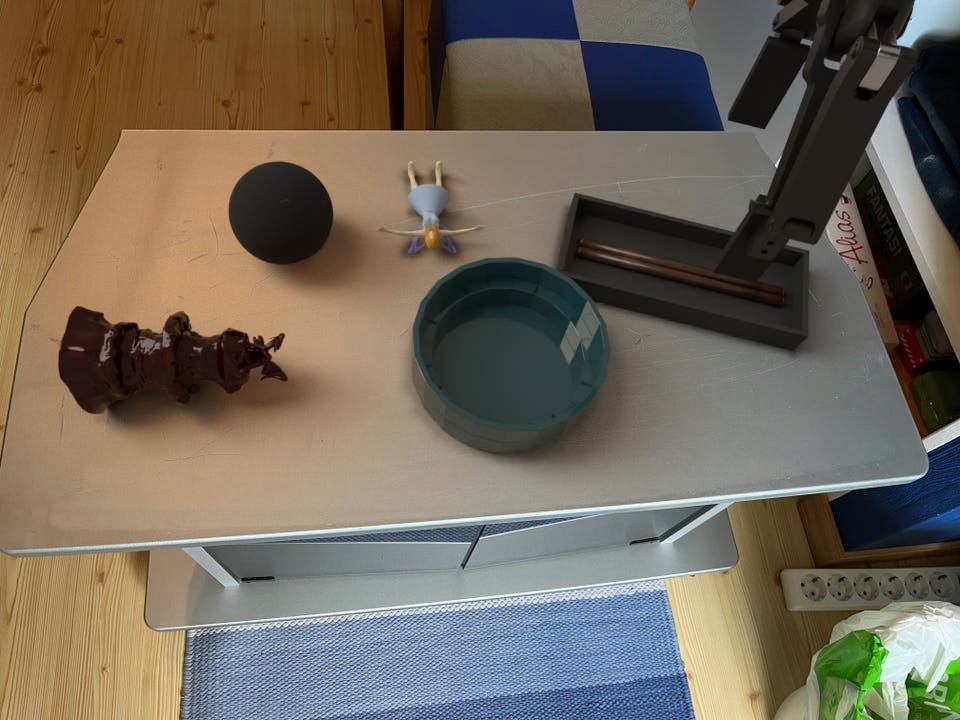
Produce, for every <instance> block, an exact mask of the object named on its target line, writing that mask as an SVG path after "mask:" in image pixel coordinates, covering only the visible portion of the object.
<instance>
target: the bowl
mask: <svg viewBox="0 0 960 720" xmlns="http://www.w3.org/2000/svg"><path fill="white" fill-rule="evenodd" d="M411 329H412V331H411V351H410V358H411V377H412V378H411V379H412V384H413V386H414V388H415V391H416V394H417V396H418V399H419V400H420V403H421V405H422V407H423V409H424V410H425V411H426V413H427V414H428V415H429V416H430V417H431V418H432V419H433V420H434V421H435V423H437V425H438V426H439V428H440V429H442V430H443V431H444V432H446V433H448V434H449V435H451V436H453V437H454V438H456V439H458V440H459V441H460V442H463V443H464V444H466V445H467V446H470V447H473V448H476V449H480V450H485V451H489V452H492V453H493V452H494V453H497V454H511V453H530V452H533V451H536V450H539V449H542V448H544V447H547V446H549V445H552V444H555V443H558V442H559V441H560V440H561V439H563V438H564V437H565V436H566V435H568V433H570V432H571V431H572V430H574V429H575V428H576V427H577V426H579V424H580V423H581V422H582V420H583V418H584V417H585V415H586V413H587V411H588V410H589V408H590V406H591V404H592V403H593V401H594V399H595V397H596V396H597V394H598V392H599V390H600V389H601V388H602V387H601V386H602V385H603V384H604V382H605V380H606V378H607V374H608V368H609V362H610V357H611V344H610V340H609V334H608V328H607V324H606V321H605V319H604V318H603V316H602V314H601V312H600V311H599V308H598V307H597V305H596V303H595V301H593V300H592V298H591V297H590V296H589V295H588V294H587V293H586V292H585V291H584V290H583V289H582V288H581V287H580V286H579V285H577V284H576V283H575V282H574V281H573V280H572V279H571V278H569V277H567V276H566V275H564V274H562V273H560V272H558V271H556V268H553V267H551V266H549V265H547V264H545V263H542V262H541V263H540V262H537V261H533V260H529V259H525V258H521V257H517V256H513V257H485V258H482V259H479V260H474V261H472V262H469V263H465V264H461V265H459V266H457V267H456V268H455V269H453V270H452V271H450V272H449V273H446V275H444V276H442V277H440V278H439V279H438V280H437V281H436V282H435V283H434V284H433V285H432V287H431V288H430V290H428V292H427V293H426V295H424V297H423V298H422V299H421V301H420V303H419V306H418V310H417V312H416V315H415V318H414V321H413V325H412V327H411Z"/></svg>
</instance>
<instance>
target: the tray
mask: <svg viewBox="0 0 960 720" xmlns="http://www.w3.org/2000/svg"><path fill="white" fill-rule="evenodd" d="M734 232H735V231H733V230H728V229H724V228H720V227H716V226H712V225H708V224H704V223H701V222H696V221H691V220H688V219H684V218H680V217H675V216H673V215H672V216H671V215H668V214H664V213H660V212H656V211H651V210H648V209H643V208H641V207H635V206H632V205H627V204H624V203H621V202H620V203H619V202H615V201H611V200H607V199H603V198H599V197H596V196H591V195H587V194H583V193H578V192H574V193H573V197H572V199H571V204H570V206H569V209H568V212H567V217H566V222H565V226H564V231H563V236H562V240H561V244H560V249H559V253H558V258H557V262H556V267H555V270H556V271H558V272H560V273H562V274H564V275H566V276H567V277H569V278H571V279H572V280H573V281H574V282H575V283H576V284H577V285H579V286H580V287H581V288H582V289H583V290H584V291H585V292H586V293H587V294H588V295H589V296H590V297H591V298H592V300H593V301H594V302H597V303H601V304H604V305H608V306H613V307H616V308H620V309H624V310H629V311H632V312H637V313H640V314H645V315H648V316H652V317H656V318H660V319H664V320H668V321H672V322H676V323H680V324H685V325H687V326H693V327H696V328H700V329H704V330H708V331H711V332H716V333H720V334H724V335H728V336H732V337H736V338H740V339H743V340H749V341H753V342H756V343H760V344H763V345H768V346H772V347H776V348H779V349H784V350H788V351H792V352H794V351H795V350H796V349H797V348H799V346H800V345H802V343H803V342H804V341H805V340H806V339H807V338H808V337H809V297H810V296H809V295H810V294H809V293H810V292H809V291H810V250H808V249H805V248H801V247H796V246H793V245H788V244H786V245H785V246H784V248H783V249H782V250H781V251H780V253H779V254H778V255H777V257H776V258H775V259H774V261H773V262H772V263H771V264H770V266H769V267H768V268H767V270H766V271H765V272H764V274H763V275H762V276H761V277H760V279H759V280H758V281H759V282H763V283H767V284H771V285H775V286H779V287H783V288H785V289H786V292H787V293H786V295H785V296H784V298H785V299H786V304H785V305H784V306H782V307H779V306H775V305H771V304H767V303H763V302H759V301H755V300H751V299H747V298H743V297H739V296H735V295H731V294H727V293H723V292H719V291H715V290H711V289H707V288H703V287H699V286H695V285H691V284H687V283H683V282H679V281H675V280H671V279H667V278H663V277H659V276H655V275H651V274H647V273H643V272H639V271H635V270H631V269H627V268H623V267H619V266H615V265H611V264H607V263H603V262H599V261H595V260H591V259H587V258H583V257H579V256H577V255H576V253H575V251H576V248H577V247H579V246H578V245H577V241H578V240H579V239H580V238H586V239H590V240H594V241H598V242H602V243H606V244H610V245H614V246H618V247H622V248H626V249H630V250H634V251H638V252H642V253H646V254H650V255H654V256H658V257H662V258H666V259H670V260H674V261H678V262H682V263H687V264H691V265H695V266H699V267H703V268H707V269H711V270H714V263H715V262H716V260H717V258H718V257H719V255H720V254H721V252H722V251H723V249H724V248H725V246H726V245H727V243H728V242H729V240H730V239H731V237H732V236H733V234H734Z"/></svg>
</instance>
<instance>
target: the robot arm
mask: <svg viewBox="0 0 960 720" xmlns="http://www.w3.org/2000/svg"><path fill="white" fill-rule="evenodd" d="M915 2H916V0H777V2H776V4H777V5H778V6H782V7H783V8H781V9H780V10H779V11H778V12H777V13H776V14H775V16H774V17H773V19H772V23H771V25H772V26H771V31H772V32H774V35H768V36H767V38H766V40H765V42H764V44H763V45H762V47H761V50H760V51H759V53H758V55H757V56H756V58H755V61H754V63H753V65H752V67H751V69H750V70H749V72H748V74H747V76H746V78H745V80H744V82H743V84H742V85H741V88H740V89H739V92H738V93H737V96H736V98H734V101H733V103H732V105H731V107H730V109H729V110H728V112H727V121H728V122H733V123H736V124H740V125H744V126H747V127H748V126H749V127H752V128H757V129H761V130H765V131H766V128H767V126H768V125H769V123H770V121H771V120H772V118H773V117H774V115H775V113H776V111H777V110H778V108H779V107H780V105H781V103H782V102H783V100H784V98H785V97H786V95H787V93H788V92H789V89H790V88H791V86H792V85H793V83H794V81H795V80H796V78H797V76H798V75H799V73H800V71H801V69H802V71H801V76H802V79H803V80H804V82H805V83H806V88H805V91H804V93H803V96H802V99H801V102H800V104H799V106H798V110H797V111H796V115H795V118H794V121H793V123H792V126H791V128H790V132H789V134H788V136H787V140H786V142H785V145H784V148H783V150H782V153H781V155H780V159H779V161H778V164H777V166H776V169H775V172H774V175H773V176H772V181H771V182H770V186H769V189H768V191H767V193H766V195H765V194H762V193H759V194H758V196H757V197H756V199H750V200H749V202H748V211H747V213H746V214H745V216H743V219H742V220H741V222H740V223H739V224H738V226H737V228H736V229H735V231H733V232H734V234H733V236H732V237H731V239H730V240H729V242H728V243H727V245H726V246H725V248H724V249H723V251H722V252H721V254H720V255H719V257H718V258H717V260H716V262H715V263H714V273H717V274H721V275H725V276H729V277H733V278H737V279H741V280H745V281H749V282H753V283H757V281H758V280H759V279H760V277H761V276H762V275H763V274H764V272H765V271H766V270H767V268H768V267H769V266H770V264H771V263H772V262H773V261H774V259H775V258H776V257H777V255H778V254H779V253H780V251H781V250H782V249H783V248H784V246H785V245H788V242H789V241H790V240H791V241H795V242H800V243H803V244H807V245H811V246H815V245H817V244H818V243H819V241H820V240H821V238H822V236H823V233H824V231H825V229H826V228H827V226H828V224H829V222H830V219H831V218H832V216H833V214H834V212H835V210H836V208H837V206H838V204H839V202H840V200H841V198H842V197H843V194H844V193H845V190H846V188H847V186H848V185H849V182H850V181H851V180H852V176H853V174H854V173H855V171H856V169H857V167H858V165H859V162H860V161H861V159H862V157H863V155H864V153H865V151H866V149H867V148H868V145H869V143H870V141H871V140H872V137H873V135H874V134H875V132H876V129H877V127H878V125H879V123H880V121H881V120H882V118H883V115H884V114H885V112H886V109H887V107H888V106H889V104H890V102H891V101H892V99H893V98H894V97H895V95H896V94H897V92H898V91H899V89H900V88H901V87H902V85H903V83H904V82H905V81H906V79H907V77H908V76H909V75H910V73H911V72H912V70H913V69H914V67H915V66H916V62H917V58H918V54H919V52H918V49H917V48H913V47H909V46H905V45H902V44H901V45H900V44H898V41H899V39H901V38H902V37H903V36H904V34H905V33H906V30H907V27H908V26H909V23H910V20H911V18H912V15H913V12H914V6H915ZM803 40H806V41H809V42H812V43H811V45H810V44H806V43H802V41H803ZM825 60H827V61H831V62H835V63H839V69H835V68H831V67H828V66H826V64H825Z"/></svg>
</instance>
